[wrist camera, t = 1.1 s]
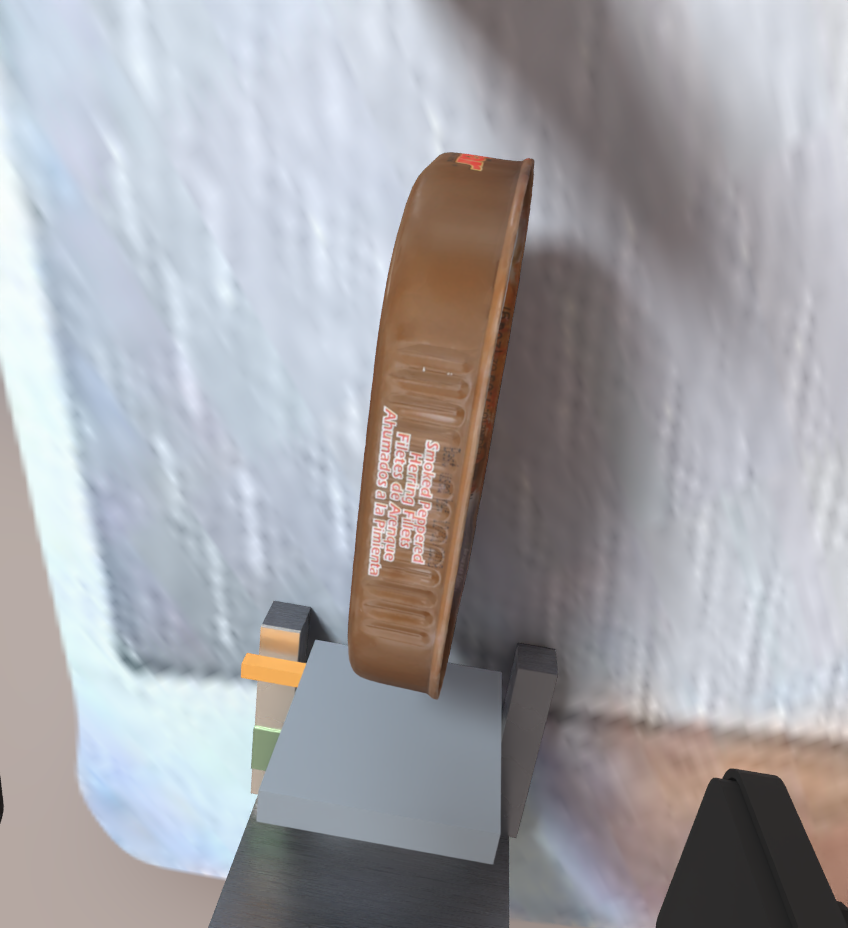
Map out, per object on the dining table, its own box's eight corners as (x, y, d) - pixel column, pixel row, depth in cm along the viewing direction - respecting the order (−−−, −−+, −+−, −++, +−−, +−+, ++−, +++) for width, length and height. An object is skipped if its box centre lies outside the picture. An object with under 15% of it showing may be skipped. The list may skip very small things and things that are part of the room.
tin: (463, 597, 28) (445, 771, 20) (377, 582, 28) (329, 751, 21) (541, 156, 22) (559, 168, 14) (432, 140, 22) (393, 144, 15)
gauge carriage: (501, 672, 28) (500, 834, 21) (495, 698, 28) (492, 864, 22) (255, 629, 28) (181, 776, 22) (254, 655, 28) (180, 807, 22)
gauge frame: (555, 649, 28) (578, 892, 19) (507, 841, 33) (507, 1119, 23) (273, 600, 29) (165, 817, 20) (260, 797, 33) (165, 1052, 24)
